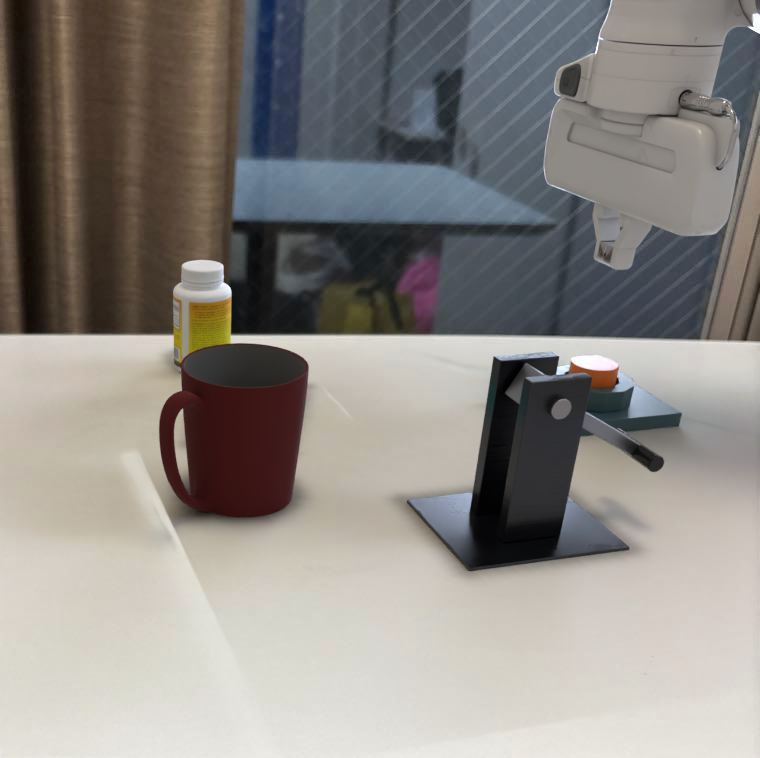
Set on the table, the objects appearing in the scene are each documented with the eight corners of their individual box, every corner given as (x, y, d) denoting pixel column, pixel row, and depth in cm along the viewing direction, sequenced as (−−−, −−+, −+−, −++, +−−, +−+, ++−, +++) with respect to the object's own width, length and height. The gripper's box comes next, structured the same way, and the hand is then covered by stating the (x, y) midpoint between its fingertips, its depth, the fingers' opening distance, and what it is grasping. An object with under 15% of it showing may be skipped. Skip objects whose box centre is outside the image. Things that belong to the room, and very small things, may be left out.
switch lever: (609, 452, 76) (630, 424, 75) (651, 482, 72) (673, 453, 71) (493, 385, 70) (514, 355, 70) (531, 413, 66) (553, 381, 66)
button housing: (610, 394, 98) (618, 353, 96) (676, 436, 90) (687, 393, 88) (495, 405, 96) (502, 363, 94) (552, 449, 87) (561, 405, 85)
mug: (209, 563, 70) (210, 411, 65) (124, 517, 76) (119, 373, 70) (324, 506, 78) (335, 366, 72) (240, 468, 83) (243, 335, 78)
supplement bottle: (241, 368, 103) (244, 265, 98) (204, 383, 99) (205, 276, 94) (199, 355, 106) (200, 254, 101) (161, 369, 102) (160, 265, 97)
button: (598, 371, 93) (602, 353, 92) (624, 388, 90) (628, 368, 89) (558, 375, 92) (562, 356, 91) (583, 391, 89) (587, 372, 88)
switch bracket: (549, 496, 80) (581, 335, 73) (626, 562, 71) (669, 386, 65) (405, 513, 77) (424, 347, 71) (467, 584, 69) (495, 402, 62)
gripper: (782, 102, 71) (727, 300, 78) (611, 69, 88) (578, 234, 95) (703, 102, 70) (655, 304, 77) (545, 68, 87) (516, 236, 94)
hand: (611, 265), depth 86 cm, fingers closed
